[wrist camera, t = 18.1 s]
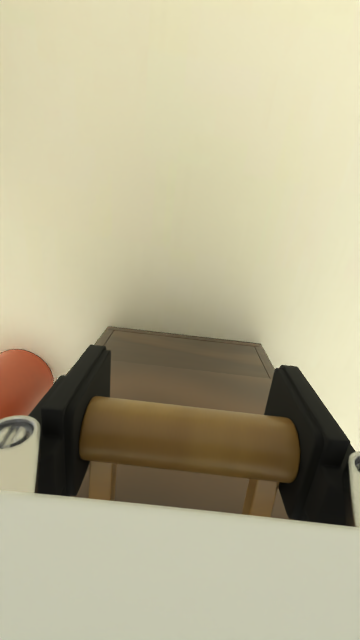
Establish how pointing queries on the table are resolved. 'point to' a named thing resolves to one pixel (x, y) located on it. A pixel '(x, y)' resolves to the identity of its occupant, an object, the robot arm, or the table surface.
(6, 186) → the table surface
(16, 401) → the tin
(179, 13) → the table surface
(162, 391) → the lid
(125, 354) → the box
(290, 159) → the table surface
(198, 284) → the table surface
